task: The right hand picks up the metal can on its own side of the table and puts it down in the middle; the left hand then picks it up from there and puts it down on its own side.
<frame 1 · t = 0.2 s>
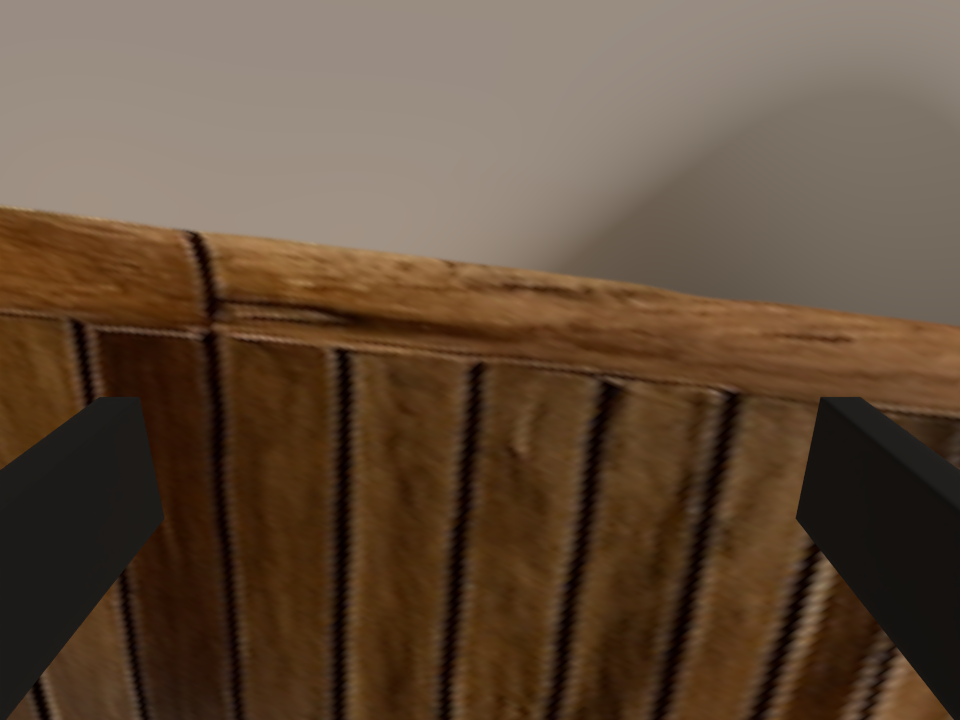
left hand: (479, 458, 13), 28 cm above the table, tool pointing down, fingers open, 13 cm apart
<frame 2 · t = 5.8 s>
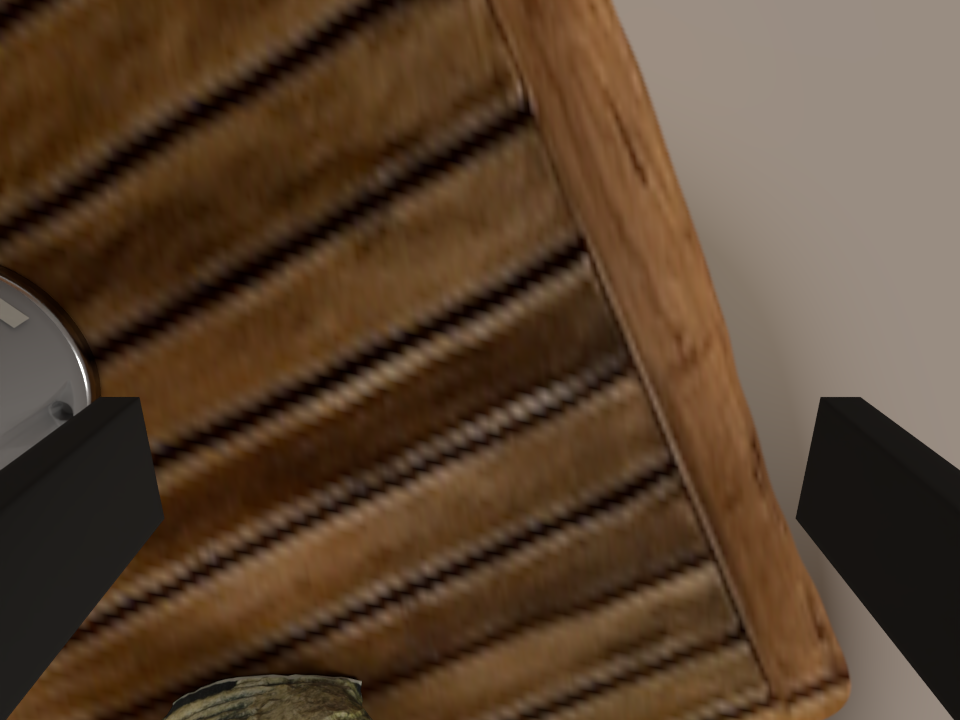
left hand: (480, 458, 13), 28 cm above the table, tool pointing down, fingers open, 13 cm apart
fossil: (280, 704, 52), on the table
when the right hand's fingers open (4 cm above the table, at t = 15.1 s): can drops 2 cm, on the table.
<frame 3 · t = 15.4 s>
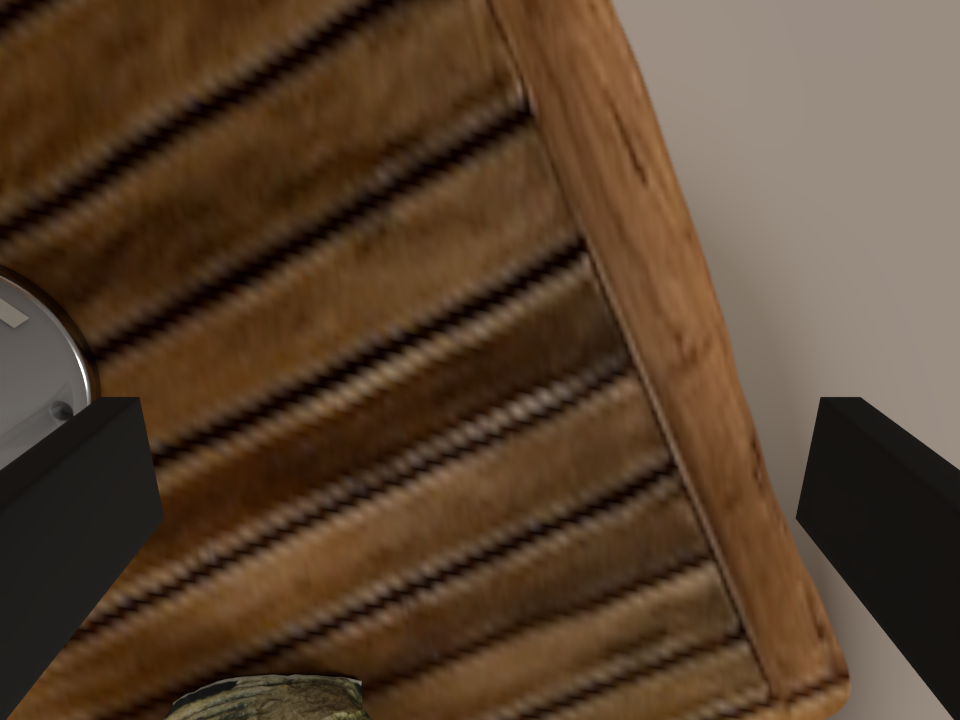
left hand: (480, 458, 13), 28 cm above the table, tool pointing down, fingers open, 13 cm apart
fossil: (280, 704, 52), on the table
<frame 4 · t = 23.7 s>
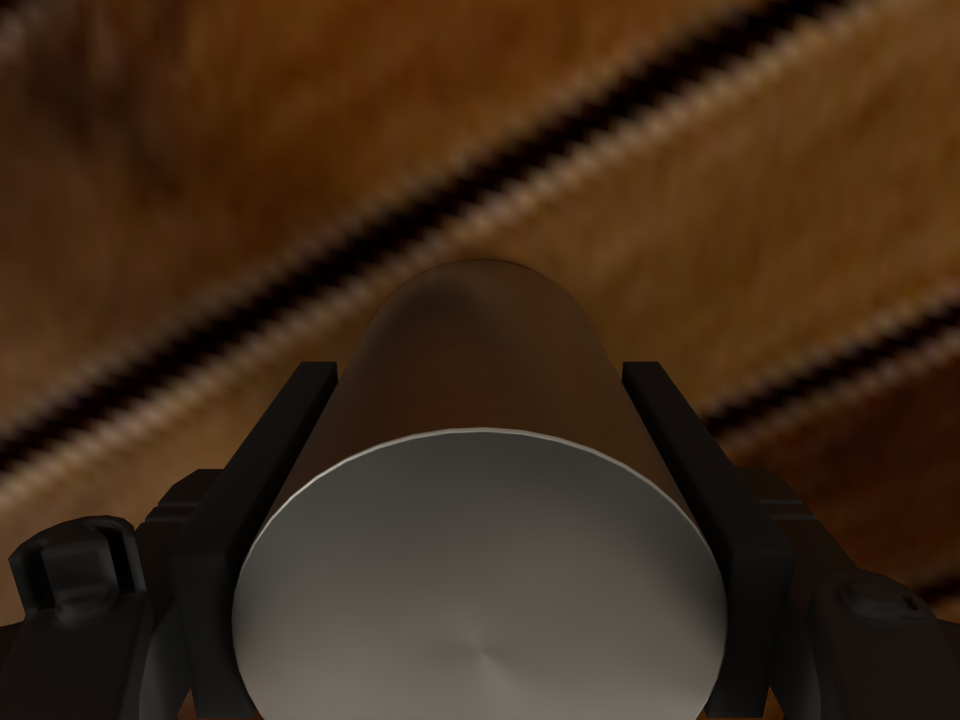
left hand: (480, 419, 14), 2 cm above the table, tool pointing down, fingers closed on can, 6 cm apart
can: (480, 379, 16), on the table, touching left hand
when the left hand's fingers open (4 cm above the table, at t = 31.7 s): can drops 2 cm, on the table.
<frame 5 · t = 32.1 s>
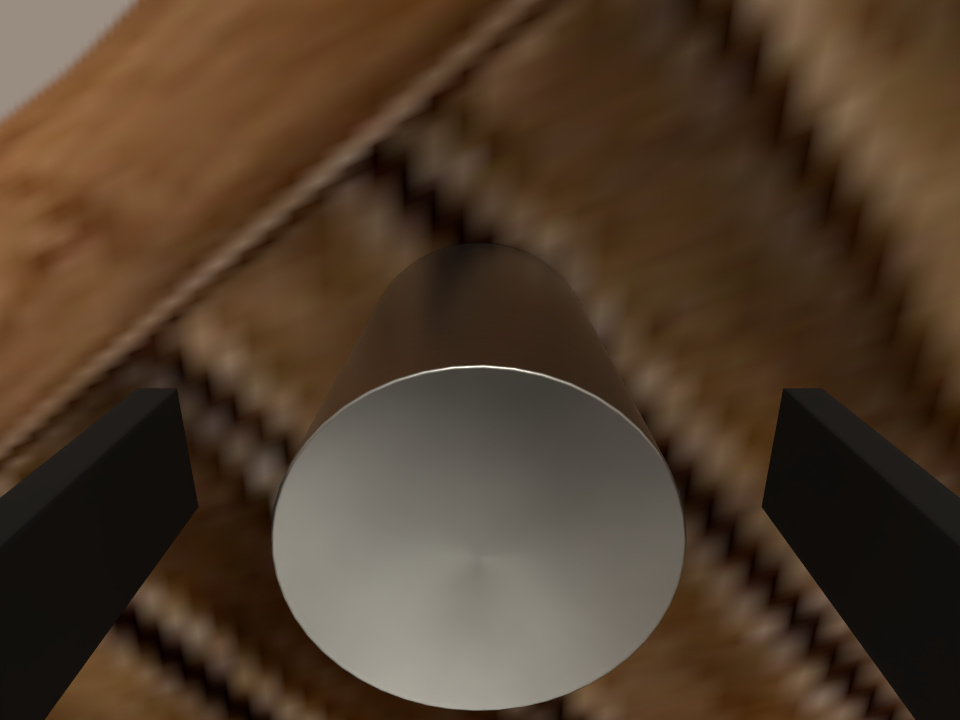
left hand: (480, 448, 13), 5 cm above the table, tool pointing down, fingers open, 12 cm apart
can: (479, 353, 18), on the table
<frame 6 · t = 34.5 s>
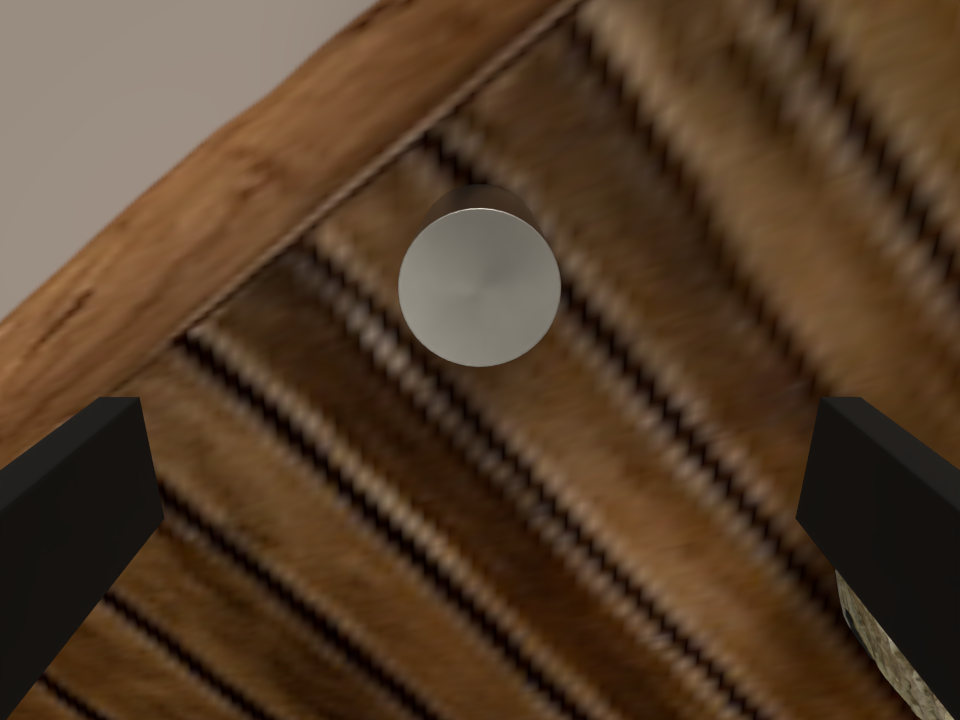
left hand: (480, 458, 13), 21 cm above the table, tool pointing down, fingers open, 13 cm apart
can: (479, 246, 33), on the table
fossil: (889, 556, 39), on the table
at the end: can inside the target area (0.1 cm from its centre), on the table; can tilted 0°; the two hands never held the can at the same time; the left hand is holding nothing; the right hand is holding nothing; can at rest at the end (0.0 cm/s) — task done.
